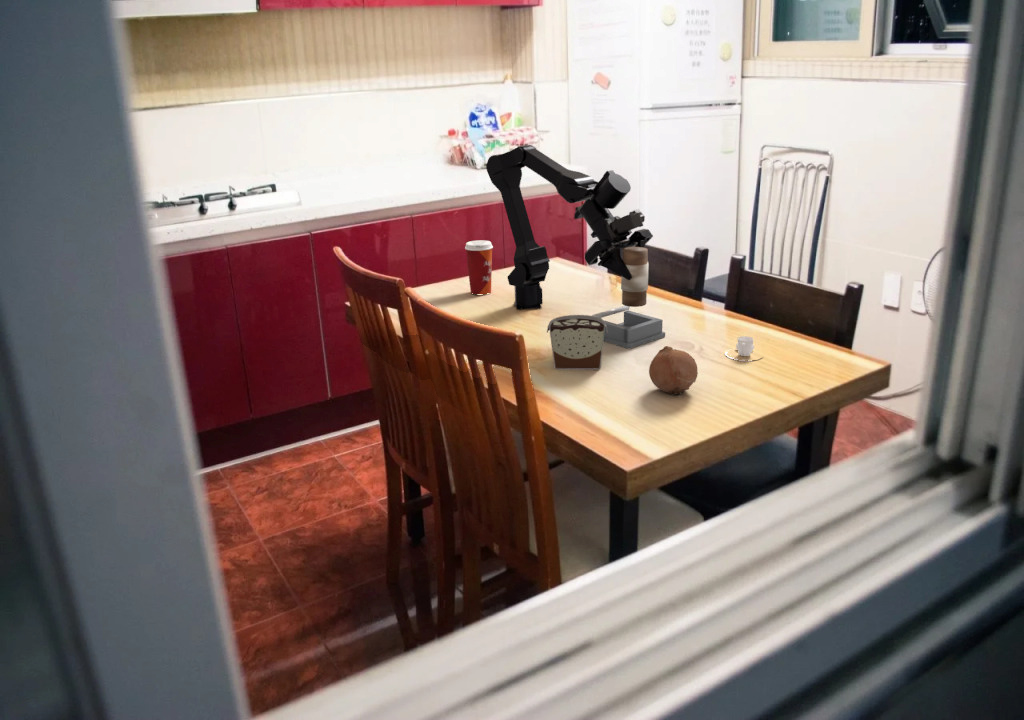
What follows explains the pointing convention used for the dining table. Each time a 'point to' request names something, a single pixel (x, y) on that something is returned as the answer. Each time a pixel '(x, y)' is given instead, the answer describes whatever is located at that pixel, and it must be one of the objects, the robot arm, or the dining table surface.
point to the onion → (673, 370)
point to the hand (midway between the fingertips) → (639, 276)
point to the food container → (577, 341)
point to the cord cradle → (631, 328)
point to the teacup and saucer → (743, 347)
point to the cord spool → (635, 277)
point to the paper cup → (479, 266)
